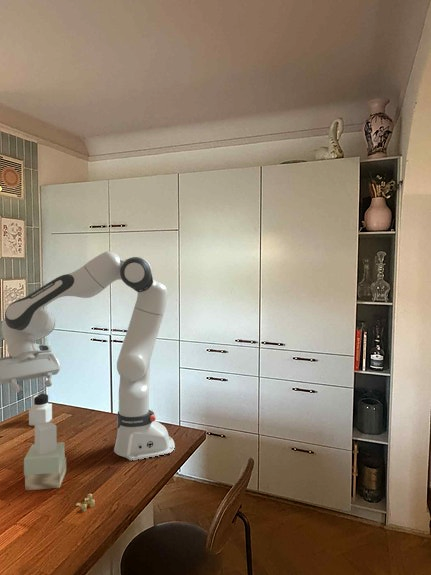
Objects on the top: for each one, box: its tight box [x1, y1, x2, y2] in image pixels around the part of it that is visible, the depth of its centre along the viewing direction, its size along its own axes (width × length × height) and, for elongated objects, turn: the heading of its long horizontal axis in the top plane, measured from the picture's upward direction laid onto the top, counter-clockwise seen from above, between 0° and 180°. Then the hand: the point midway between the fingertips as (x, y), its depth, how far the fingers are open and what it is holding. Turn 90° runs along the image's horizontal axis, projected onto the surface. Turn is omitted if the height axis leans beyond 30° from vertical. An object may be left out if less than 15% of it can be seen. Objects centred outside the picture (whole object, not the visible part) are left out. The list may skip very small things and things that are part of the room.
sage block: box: [23, 441, 66, 476], centre depth 125 cm, size 10×10×5 cm
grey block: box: [34, 420, 58, 456], centre depth 125 cm, size 5×5×8 cm
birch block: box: [24, 456, 67, 491], centre depth 126 cm, size 10×10×5 cm
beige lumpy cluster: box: [75, 493, 96, 513], centre depth 113 cm, size 5×5×2 cm
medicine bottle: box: [28, 393, 53, 426], centre depth 170 cm, size 7×7×12 cm
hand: (34, 388), depth 131 cm, fingers open, 8 cm apart
